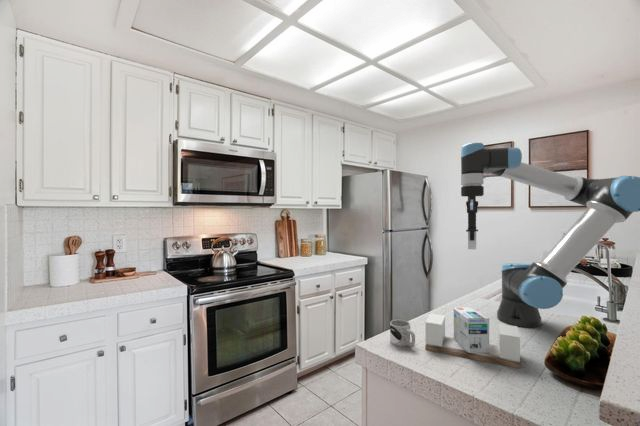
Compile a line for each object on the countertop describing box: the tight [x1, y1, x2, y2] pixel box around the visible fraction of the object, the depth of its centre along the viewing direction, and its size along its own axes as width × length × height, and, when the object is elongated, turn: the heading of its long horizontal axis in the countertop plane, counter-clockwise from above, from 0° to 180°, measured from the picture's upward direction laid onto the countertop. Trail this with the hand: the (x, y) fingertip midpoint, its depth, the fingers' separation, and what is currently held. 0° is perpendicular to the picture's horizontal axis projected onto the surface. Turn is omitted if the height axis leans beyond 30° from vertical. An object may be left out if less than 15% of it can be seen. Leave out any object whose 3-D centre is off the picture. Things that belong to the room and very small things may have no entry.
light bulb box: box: [453, 306, 490, 353], centre depth 99 cm, size 11×7×11 cm, turn 1°
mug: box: [389, 319, 416, 348], centre depth 105 cm, size 10×7×7 cm, turn 28°
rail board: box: [425, 336, 521, 369], centre depth 99 cm, size 26×10×2 cm, turn 62°
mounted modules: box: [425, 313, 521, 362], centre depth 99 cm, size 26×9×7 cm, turn 62°
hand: (472, 248), depth 116 cm, fingers closed
